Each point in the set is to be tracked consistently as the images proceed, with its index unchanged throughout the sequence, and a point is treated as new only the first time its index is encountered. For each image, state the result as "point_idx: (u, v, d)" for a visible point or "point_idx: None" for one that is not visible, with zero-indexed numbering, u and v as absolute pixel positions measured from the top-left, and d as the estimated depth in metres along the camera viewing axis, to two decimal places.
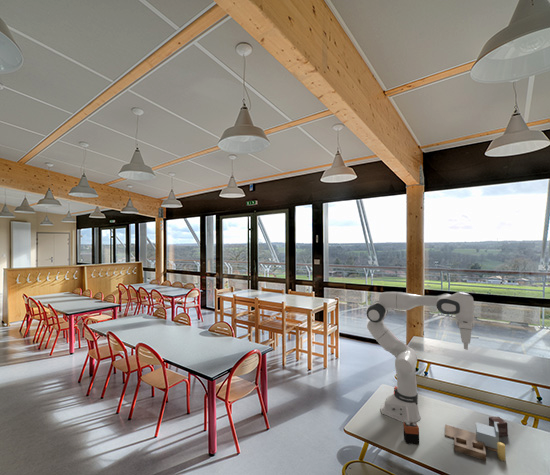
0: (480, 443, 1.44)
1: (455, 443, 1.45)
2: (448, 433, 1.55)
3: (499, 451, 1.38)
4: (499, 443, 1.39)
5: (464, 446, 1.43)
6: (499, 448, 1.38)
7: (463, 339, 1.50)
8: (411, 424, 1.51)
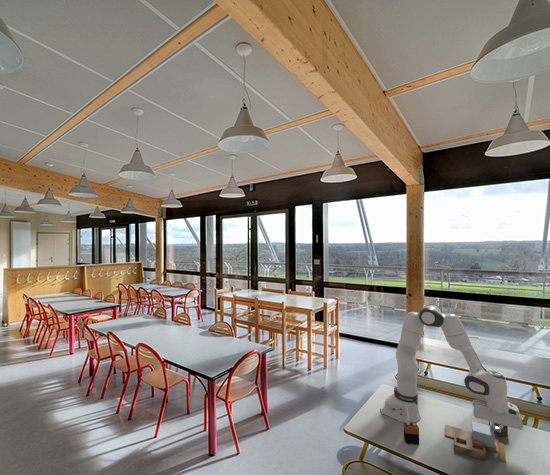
0: (480, 443, 1.44)
1: (455, 443, 1.45)
2: (448, 433, 1.55)
3: (499, 451, 1.38)
4: (499, 443, 1.39)
5: (464, 446, 1.43)
6: (499, 448, 1.38)
7: (522, 425, 1.40)
8: (411, 424, 1.51)
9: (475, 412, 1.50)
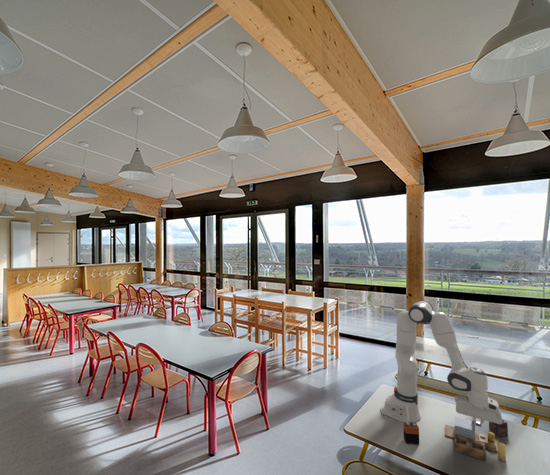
0: (480, 443, 1.44)
1: (455, 443, 1.45)
2: (448, 433, 1.55)
3: (499, 451, 1.38)
4: (499, 443, 1.39)
5: (464, 446, 1.43)
6: (499, 448, 1.38)
7: None
8: (411, 424, 1.51)
9: (457, 407, 1.54)
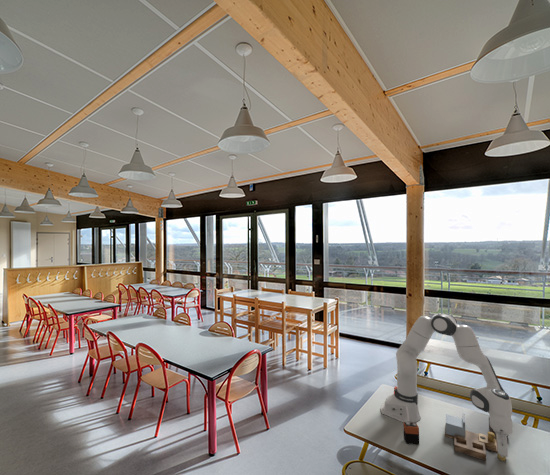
0: (480, 443, 1.44)
1: (455, 443, 1.45)
2: None
3: None
4: None
5: (464, 446, 1.43)
6: None
7: None
8: (411, 424, 1.51)
9: (507, 450, 1.30)
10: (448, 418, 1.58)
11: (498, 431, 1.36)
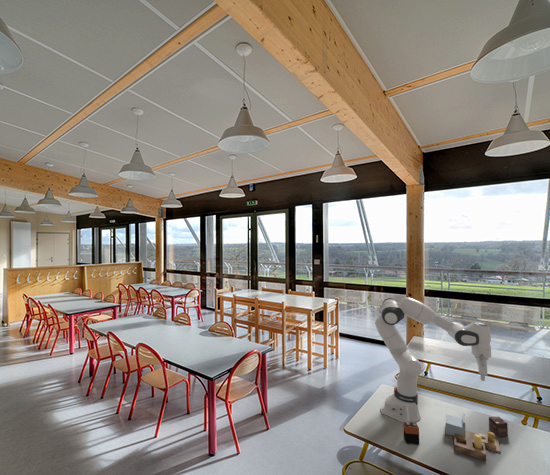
0: None
1: (455, 443, 1.45)
2: None
3: (475, 443, 1.42)
4: (476, 435, 1.43)
5: (464, 446, 1.43)
6: (475, 440, 1.42)
7: None
8: (411, 424, 1.51)
9: None
10: (448, 418, 1.58)
11: (479, 356, 1.54)
